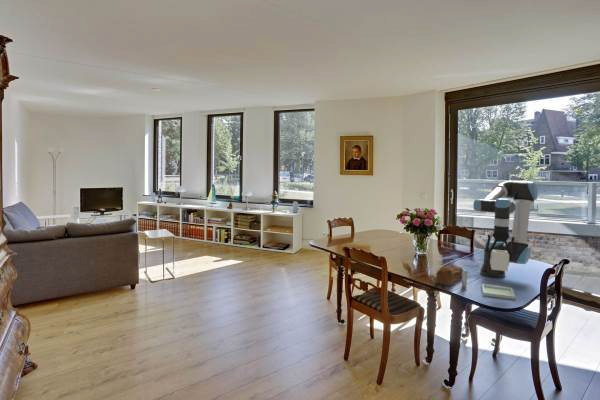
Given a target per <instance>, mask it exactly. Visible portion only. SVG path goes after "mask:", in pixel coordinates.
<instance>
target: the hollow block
mask: <svg viewBox="0 0 600 400" xmlns="http://www.w3.org/2000/svg"><path fill="white" fill-rule="evenodd" d="M508 257H509V253H508V251H505V250H492V265H491V269H492V270H501V271H505V272H508V271H509V266H508Z"/></svg>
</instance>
